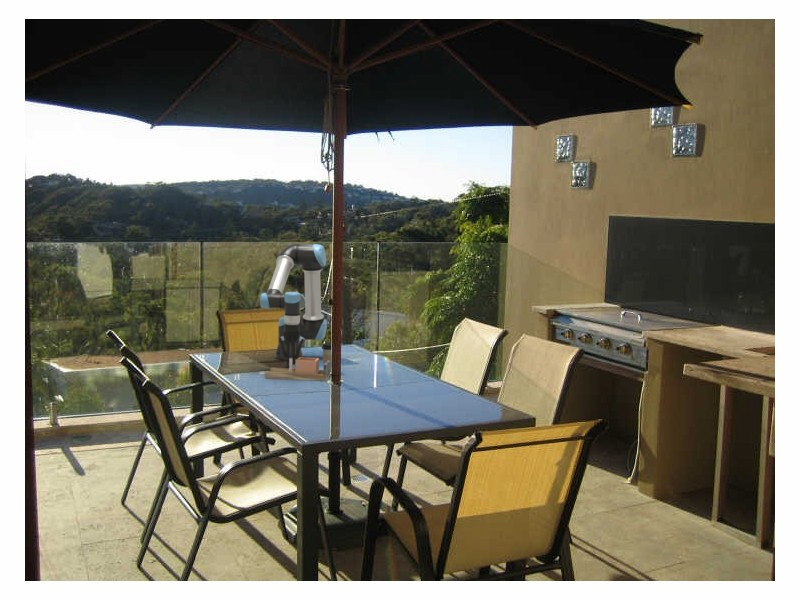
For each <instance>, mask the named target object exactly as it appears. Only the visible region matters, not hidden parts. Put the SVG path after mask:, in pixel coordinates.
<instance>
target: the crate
mask: <svg viewBox="0 0 800 600" xmlns="http://www.w3.org/2000/svg"><path fill="white" fill-rule="evenodd" d="M295 369H296V370H295V373H301V374H319V370H320V358H319V357H303V356H302V357H299V358H298V359H296V361H295Z"/></svg>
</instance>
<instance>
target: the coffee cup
mask: <svg viewBox="0 0 800 600" xmlns="http://www.w3.org/2000/svg"><path fill="white" fill-rule="evenodd" d="M331 343H332V342H328V343H327V342H325V343H323V344H322V346H321V349H322V360H323V361H322V363H323V365H324V364H325V363H326V362H327V361H328V360H330V372H331Z"/></svg>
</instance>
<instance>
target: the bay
mask: <svg viewBox="0 0 800 600" xmlns="http://www.w3.org/2000/svg"><path fill="white" fill-rule="evenodd" d="M269 369H270V370H269V371H265V372H264V379H273V380H274V379H275V380H277V379H278V380H291V379H293V380H295V381H311V380H317V381H316V382H327V380H328V379H329V378H330V377H331V375H330V360H328V361H327V362H326V363H325V364H324V363H323V369H319V374H301V373H295V370H296V368H293V371H292V372H289V367H288V368H286V367H284V368H283V367H269ZM329 376H330V377H329Z"/></svg>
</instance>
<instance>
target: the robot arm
mask: <svg viewBox="0 0 800 600" xmlns="http://www.w3.org/2000/svg"><path fill="white" fill-rule="evenodd" d="M275 263H276V265H275V269H274V271H273V274H272V278H271V280H270V282H269V283H270V284H269V287H268V289H267V292H262V293H261V294H260V295H259V296H260V297H259V305H260V306H261V308H262V309H283V310H284V316H282V317H280V318H279V320H278V327H277V328H278V332H277V333H278V334H277V335H278V336H277V337H278V343H277V346H276V350H275V353H274V358H275V359H277V360H282V361H283V360H284V361H287V362H286V364H287V365H288V366H289V367H288V368H289V372H292V371H293V369H294V366H296V360H297V359H298V358H299V357H303V351H302V347H303V343H304V342H305V340H307V341H315V342H316V341H323V340H324V339H325V337H326V334H327V333H326V332H327V328H328V320H327V319H326V318H325V316H324V314H322V300H321V299H322V298H321V296H322V294H321V291H322V290H321V271H323V269H324V267H326V265H327V253H326V250H325V247H324V245H322V244H316V243H292V244H291V243H290V244H289V245H286V247H284V248H283V249H282V250H281V251H280V252H279V253H278V255H277V257H276V260H275ZM294 266H301V270H302V271H303V272H304V295H303V294H301V293H300V292H298V291H287V292H285V293H283V292H284V289H285V287H286V284H287V282H288V278H289V274H290V272H291V269H292V268H294ZM303 308H305V309H304V310H305V311H304V314H303V316H302V318H301V309H303Z"/></svg>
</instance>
